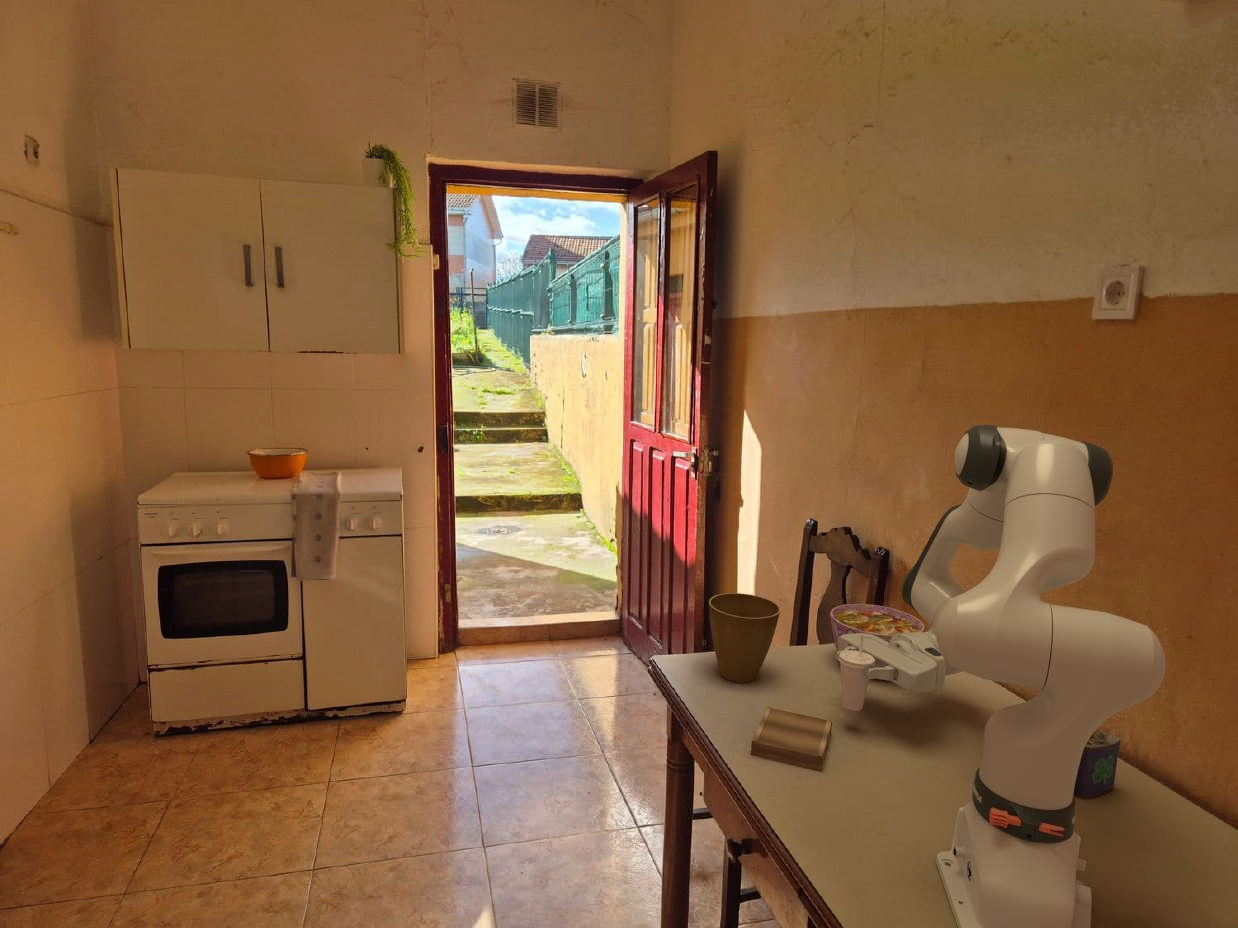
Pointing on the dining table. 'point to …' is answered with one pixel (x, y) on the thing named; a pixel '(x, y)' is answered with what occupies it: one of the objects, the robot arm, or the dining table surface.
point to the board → (792, 738)
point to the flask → (1097, 766)
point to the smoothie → (854, 677)
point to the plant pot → (742, 633)
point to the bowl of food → (872, 621)
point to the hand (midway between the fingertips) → (852, 665)
